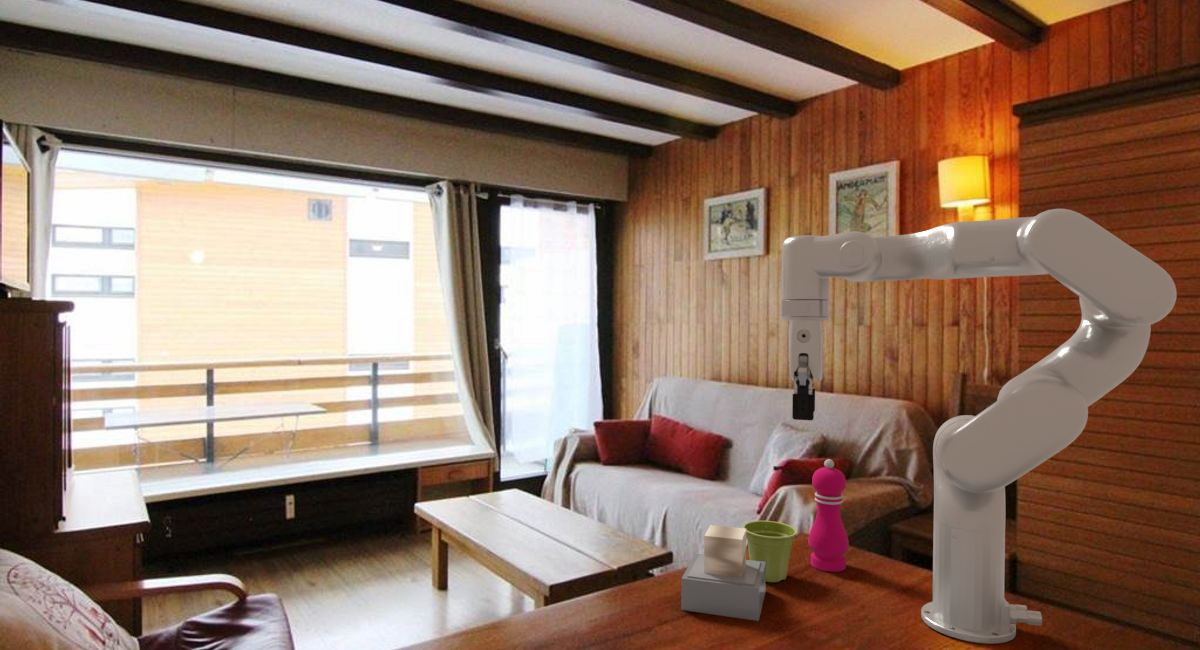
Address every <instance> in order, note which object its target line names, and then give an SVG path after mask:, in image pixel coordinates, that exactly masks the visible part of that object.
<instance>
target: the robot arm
mask: <svg viewBox="0 0 1200 650" xmlns="http://www.w3.org/2000/svg"><path fill="white" fill-rule="evenodd" d="M1038 275H1039V276H1041V275H1049V276H1051V277H1053V278H1054V279H1055V280H1057V281H1058V282H1059V283H1061V285H1063V286H1064V287H1065V288H1067V289H1069V290H1070V291H1071V292H1072V293H1074V294H1076V296H1078V297H1079V306H1080V310H1081V320H1080V323H1079V326H1078V328H1077V329H1076V331H1075V332H1074V333H1073V335H1072V336H1071V337H1070V338H1069V339H1067V340H1066V341H1065V342H1064V343H1062V344H1061V345H1059V346H1058V347H1057V348H1056V349H1055V350H1054V351H1052V352H1050V353H1049V354H1047V355H1046V356H1045V357H1044V358H1042V359H1041V360H1039V361H1038V362H1036V363H1035V364H1033V365H1032V366H1030V367H1029V368H1027V369H1026V370H1024V371H1023V372H1021V373H1019V374H1018V375H1017V376H1015V377H1013V378H1012V379H1009V380H1008V381H1007V382H1006V383H1005V384H1004V385H1003V386H1002V388H1001V389H1000V390H999V393H998V395H997V399H996V401H995V402H993V403H992V404H991V405H989V406H988V407H987V408H985V409H984V410H982V411H981V412H979V413H977V414H976V415H972V414H969V415H968V414H964V415H958V416H957V415H956V416H954V417H951V418H949V419H948V420H946V421H945V422H944V423H942V425H940V427H939V428H938V429H937V431H936V433H935V436H934V440H933V445H932V459H933V460H932V461H933V462H932V463H933V530H932V531H933V533H932V535H933V539H932V540H933V541H932V543H933V546H932V548H933V549H932V601H929V602H926V604H924V605H923V606H922V607H921V610H920V611H921V613H920V615H921V619H922V620H923V622H924V623H925V624H926V625H927V626H928V627H930V628H931V629H933V630H934V631H936V632H939V633H940V634H944V635H945V636H948V637H951V638H955V639H957V640H960V641H966V642H970V643H977V644H986V645H987V644H989V645H990V644H994V645H995V644H1003V643H1007V642H1010V641H1011V640H1013V639H1014V638H1015V637H1016V635H1017V627H1016V625H1017V624H1018V623H1022V624H1027V625H1033V626H1039V627H1041V626H1042V625H1043V616H1042V613H1041V611H1036V610H1028V607H1027V605H1023V604H1011V603H1009V601H1007V599H1006V598H1005V569H1006V568H1005V566H1006V565H1005V563H1006V561H1005V559H1006V553H1005V552H1006V509H1007V508H1006V486H1008V485H1010V484H1012V483H1013V482H1015V481H1017V480H1018V479H1020V478H1021V477H1023V476H1024V475H1026V474H1027V473H1029V472H1030V471H1032V470H1034V469H1035V468H1036V467H1038V466H1040V465H1041V464H1043V463H1044V462H1046V461H1048V460H1049V459H1051V458H1052V457H1053V456H1055V455H1056V454H1058V453H1060V452H1061V451H1062V450H1064V449H1066V448H1067V447H1068V446H1069V445H1071V444H1072V443H1073V442H1074V441H1075V440H1076V439H1077V438H1078V437H1079V436H1080V435H1081V434H1082V432H1083V431H1084V429H1085V427H1086V425H1087V422H1088V419H1089V418H1088V416H1089V407H1090V406H1092V405H1093V404H1094V403H1096V402H1097V401H1098V400H1100V399H1102V398H1103V397H1104V396H1105V395H1107V394H1108V393H1109V392H1111V391H1112V390H1114V389H1115V388H1116V387H1117V386H1118V385H1120V384H1122V383H1123V382H1124V381H1125V380H1126V379H1127V378H1129V377H1130V376H1131V375H1132V374H1133V373H1134V372H1135V370H1137V368H1138V367H1139V365H1140V364H1141V362H1142V361H1143V360H1144V357H1145V354H1146V352H1147V350H1148V346H1149V342H1150V338H1151V330H1152V329H1151V325H1154V324H1155V323H1158V322H1160V321H1161V320H1163V319H1165V318H1166V317H1167V316H1168V315H1169V313H1170V312H1171V311H1172V310H1173V308H1174V307H1175V305H1176V301H1177V292H1178V291H1177V288H1176V283H1175V282H1174V280H1173V278H1172V276H1171V275H1170V274H1169V272H1167V271H1166V270H1165V269H1164V268H1163V267H1162V266H1161V265H1159V264H1158V263H1156V261H1153V260H1152V259H1151V258H1149V257H1147V256H1146V255H1144V254H1143V253H1141V252H1140V251H1138V250H1137V249H1135V248H1134V247H1132V246H1130V245H1129V244H1128V243H1126V242H1124V241H1123V240H1122V239H1120V238H1119V237H1117V236H1116V235H1114V234H1113V233H1111V232H1110V231H1108V230H1107V229H1105V227H1102V226H1101V225H1100V224H1098V223H1096V222H1095V221H1094V220H1092V219H1090V218H1089V217H1087V216H1086V215H1084V214H1082V213H1079V212H1077V211H1075V210H1072V209H1066V208H1052V209H1047V210H1045V211H1043V212H1040V213H1038V214H1037V215H1035V216H1025V217H1024V216H1022V217H1013V218H1012V217H1011V218H1000V219H999V218H997V219H986V220H971V221H970V220H969V221H956V222H955V221H954V222H951V223H945V224H941V225H939V226H936V227H933V228H930V229H927V230H924V231H920V232H913V233H908V234H907V233H906V234H900V235H899V234H898V235H889V236H885V235H884V236H871V235H869V234H868V233H866V232H863V231H856V230H854V231H853V230H851V231H845V232H840V233H834V234H829V235H828V234H827V235H815V234H814V235H813V234H811V235H809V234H807V235H794V236H793V235H792V236H789V237H787V238H786V239H784V240H783V243H782V245H781V310H780V311H781V316H780V317H781V319H780V320H781V321H788V362H789V363H788V364H789V374H790V380H792V381H793V382H794V383H793V384H794V386H793V393H792V408H791V409H792V412H791V413H792V415H791V416H792V417H791V418H792V420H796V421H797V420H799V421H813V420H814V419H815V414H814V413H815V410H816V388H815V387H814V384H815V383H814V381H815V379H817V382H818V383H820V382H821V381H822V380H823V371H824V370H823V369H824V367H823V364H824V363H823V361H824V360H823V359H824V357H823V356H824V355H823V354H824V352H823V350H824V334H823V321H830V278H841V279H844V280H845V281H849V282H852V283H867V282H870V283H871V282H886V281H907V280H938V281H939V280H940V281H941V280H954V279H956V280H957V279H973V278H991V277H992V278H993V277H997V278H998V277H1019V276H1020V277H1021V276H1038Z"/></svg>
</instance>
